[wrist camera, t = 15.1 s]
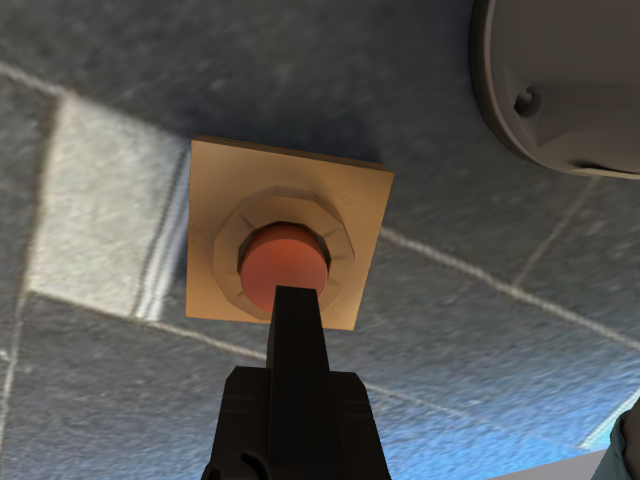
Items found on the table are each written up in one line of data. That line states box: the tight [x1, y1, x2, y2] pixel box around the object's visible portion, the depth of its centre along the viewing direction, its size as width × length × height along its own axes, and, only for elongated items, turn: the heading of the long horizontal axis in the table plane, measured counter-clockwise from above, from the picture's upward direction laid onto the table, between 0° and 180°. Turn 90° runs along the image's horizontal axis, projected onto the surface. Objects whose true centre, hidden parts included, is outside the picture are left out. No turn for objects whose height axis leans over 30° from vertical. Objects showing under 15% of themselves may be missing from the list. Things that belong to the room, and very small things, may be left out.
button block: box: [186, 134, 395, 330], centre depth 19 cm, size 10×10×4 cm
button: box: [240, 225, 328, 313], centre depth 16 cm, size 4×4×2 cm
